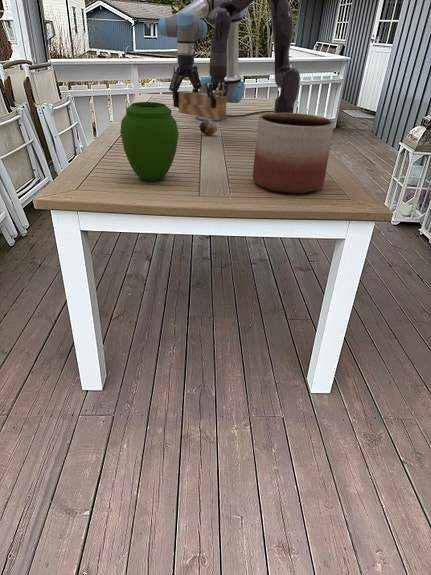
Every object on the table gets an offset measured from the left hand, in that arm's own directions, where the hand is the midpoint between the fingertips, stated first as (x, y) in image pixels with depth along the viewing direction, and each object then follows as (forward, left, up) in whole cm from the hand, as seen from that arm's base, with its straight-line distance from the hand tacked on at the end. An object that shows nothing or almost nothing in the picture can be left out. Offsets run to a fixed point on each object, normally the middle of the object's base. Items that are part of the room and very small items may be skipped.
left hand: (185, 105), depth 195 cm
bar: (-5, +9, -3) cm, 11 cm away
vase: (+33, +58, -15) cm, 68 cm away
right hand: (-9, +16, +2) cm, 19 cm away
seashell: (-14, -5, -15) cm, 21 cm away
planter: (-13, +76, -15) cm, 79 cm away
